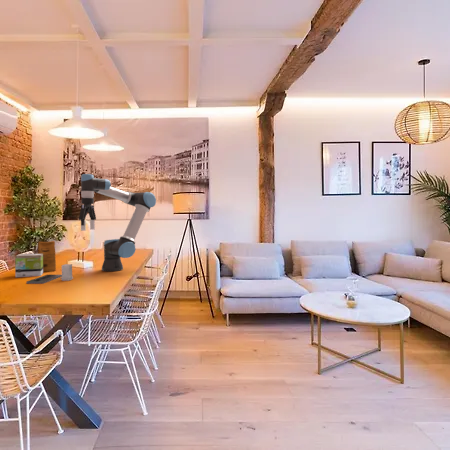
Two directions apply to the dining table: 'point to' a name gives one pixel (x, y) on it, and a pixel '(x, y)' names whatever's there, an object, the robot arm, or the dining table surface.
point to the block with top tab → (67, 272)
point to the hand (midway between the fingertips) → (88, 230)
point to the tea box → (28, 265)
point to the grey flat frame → (43, 279)
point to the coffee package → (48, 255)
